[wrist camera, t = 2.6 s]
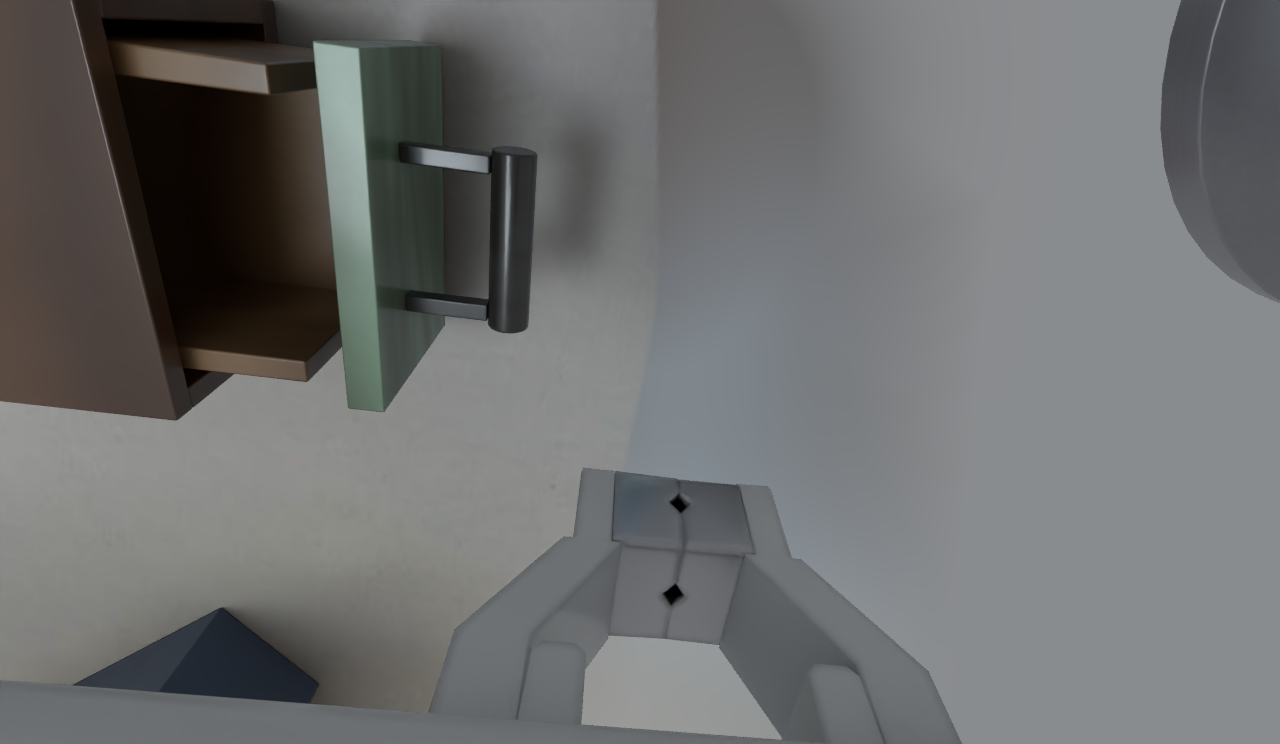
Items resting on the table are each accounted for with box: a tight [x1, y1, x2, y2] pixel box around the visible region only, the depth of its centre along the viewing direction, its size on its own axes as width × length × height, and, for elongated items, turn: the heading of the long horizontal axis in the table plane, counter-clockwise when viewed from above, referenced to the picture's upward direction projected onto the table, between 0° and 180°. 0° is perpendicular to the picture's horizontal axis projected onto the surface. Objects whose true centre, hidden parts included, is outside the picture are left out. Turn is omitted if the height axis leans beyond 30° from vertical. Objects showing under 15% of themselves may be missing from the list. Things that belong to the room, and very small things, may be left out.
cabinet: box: [0, 0, 278, 420], centre depth 21 cm, size 15×12×9 cm
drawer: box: [102, 19, 537, 412], centre depth 21 cm, size 18×11×7 cm, turn 82°
